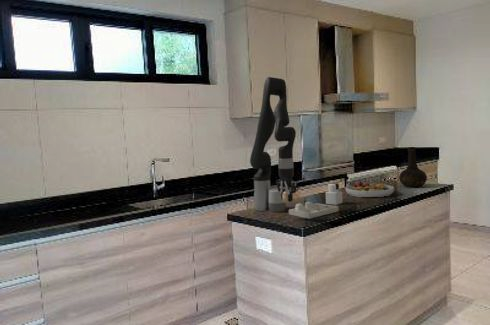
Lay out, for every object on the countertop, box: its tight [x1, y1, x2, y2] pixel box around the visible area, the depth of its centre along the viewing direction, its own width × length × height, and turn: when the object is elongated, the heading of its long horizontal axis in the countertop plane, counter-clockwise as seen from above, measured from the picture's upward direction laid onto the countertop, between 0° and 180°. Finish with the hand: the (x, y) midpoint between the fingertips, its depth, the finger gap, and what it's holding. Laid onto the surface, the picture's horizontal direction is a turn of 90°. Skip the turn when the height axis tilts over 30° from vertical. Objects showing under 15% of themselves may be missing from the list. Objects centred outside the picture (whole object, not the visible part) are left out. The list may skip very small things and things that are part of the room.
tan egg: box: [282, 190, 290, 204], centre depth 194 cm, size 4×4×6 cm
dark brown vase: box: [398, 146, 428, 188], centre depth 271 cm, size 18×18×28 cm
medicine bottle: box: [325, 182, 343, 206], centre depth 228 cm, size 7×7×12 cm
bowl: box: [345, 180, 395, 198], centre depth 252 cm, size 30×30×8 cm
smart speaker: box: [268, 185, 287, 213], centre depth 214 cm, size 10×9×14 cm
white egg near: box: [294, 202, 304, 211], centre depth 203 cm, size 4×4×6 cm
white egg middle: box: [304, 201, 314, 209], centre depth 207 cm, size 4×4×6 cm
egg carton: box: [288, 202, 340, 219], centre depth 204 cm, size 15×22×3 cm
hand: (286, 200), depth 194 cm, fingers closed on tan egg, 4 cm apart
